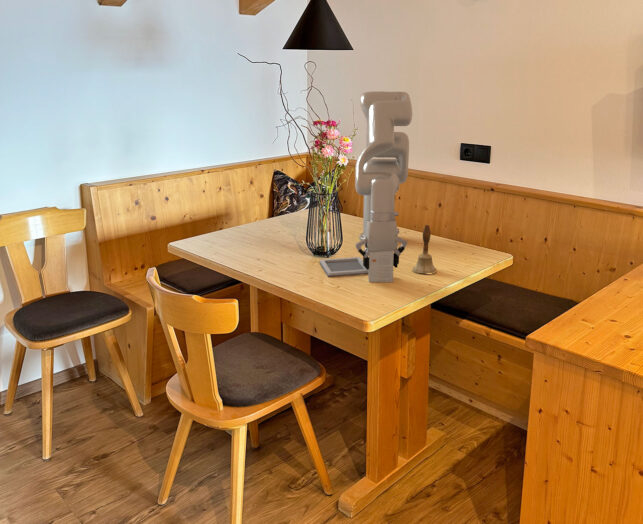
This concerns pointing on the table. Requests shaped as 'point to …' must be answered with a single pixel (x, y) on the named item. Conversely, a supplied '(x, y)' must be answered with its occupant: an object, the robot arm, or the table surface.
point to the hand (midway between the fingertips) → (380, 267)
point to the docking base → (343, 266)
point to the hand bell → (425, 255)
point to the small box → (381, 266)
